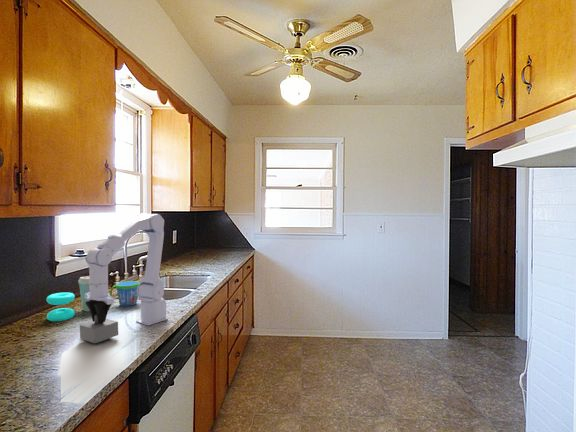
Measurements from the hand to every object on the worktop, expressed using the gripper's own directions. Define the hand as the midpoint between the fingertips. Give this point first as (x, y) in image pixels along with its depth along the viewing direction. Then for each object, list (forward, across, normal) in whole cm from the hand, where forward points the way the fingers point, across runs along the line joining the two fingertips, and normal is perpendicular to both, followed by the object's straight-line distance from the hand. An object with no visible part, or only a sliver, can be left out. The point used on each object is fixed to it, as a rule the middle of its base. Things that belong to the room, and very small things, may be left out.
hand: (98, 321), depth 125 cm
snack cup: (+7, -32, +33) cm, 47 cm away
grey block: (+5, 0, 0) cm, 5 cm away
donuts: (+7, -36, +5) cm, 38 cm away
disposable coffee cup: (+7, -38, +19) cm, 43 cm away
